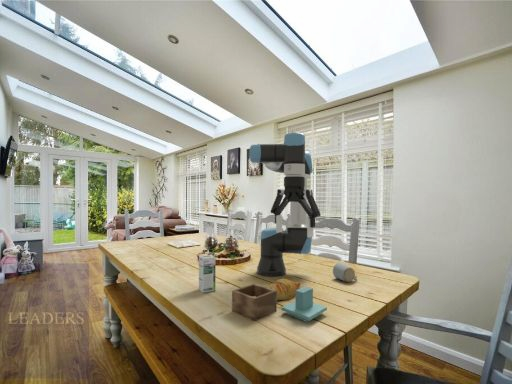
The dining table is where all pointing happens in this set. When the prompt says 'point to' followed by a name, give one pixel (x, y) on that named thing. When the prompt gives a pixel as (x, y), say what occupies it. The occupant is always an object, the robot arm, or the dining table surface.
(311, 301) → the lid
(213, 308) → the dining table surface
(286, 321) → the dining table surface
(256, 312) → the box
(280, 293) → the croissant
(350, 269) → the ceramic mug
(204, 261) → the syrup box
